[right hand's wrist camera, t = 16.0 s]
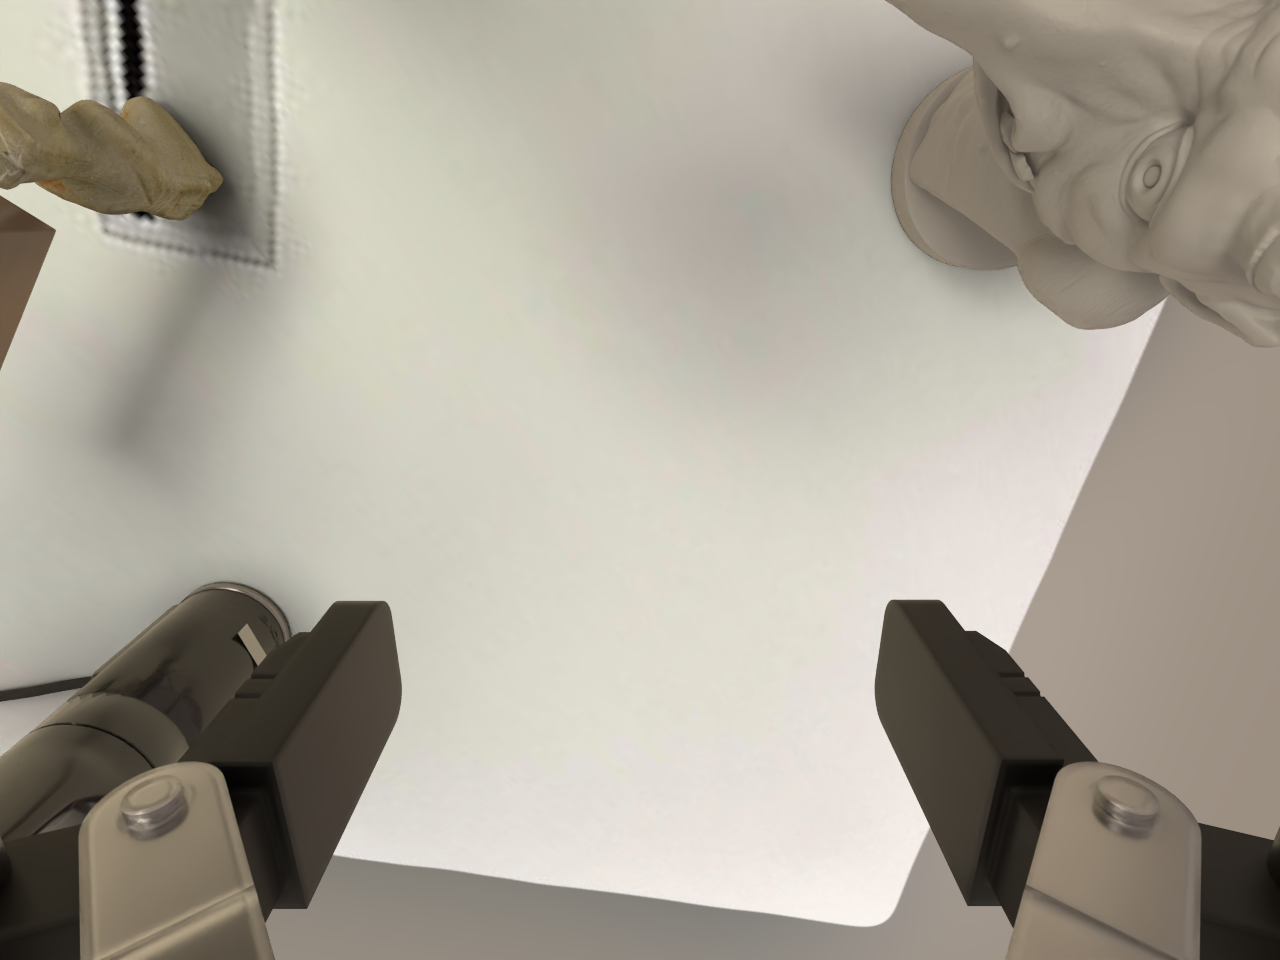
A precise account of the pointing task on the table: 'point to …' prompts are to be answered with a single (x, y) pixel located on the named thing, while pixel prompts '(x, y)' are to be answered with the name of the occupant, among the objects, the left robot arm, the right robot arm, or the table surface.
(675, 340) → the table surface
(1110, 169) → the bust sculpture
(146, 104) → the sculpture
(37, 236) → the bar
